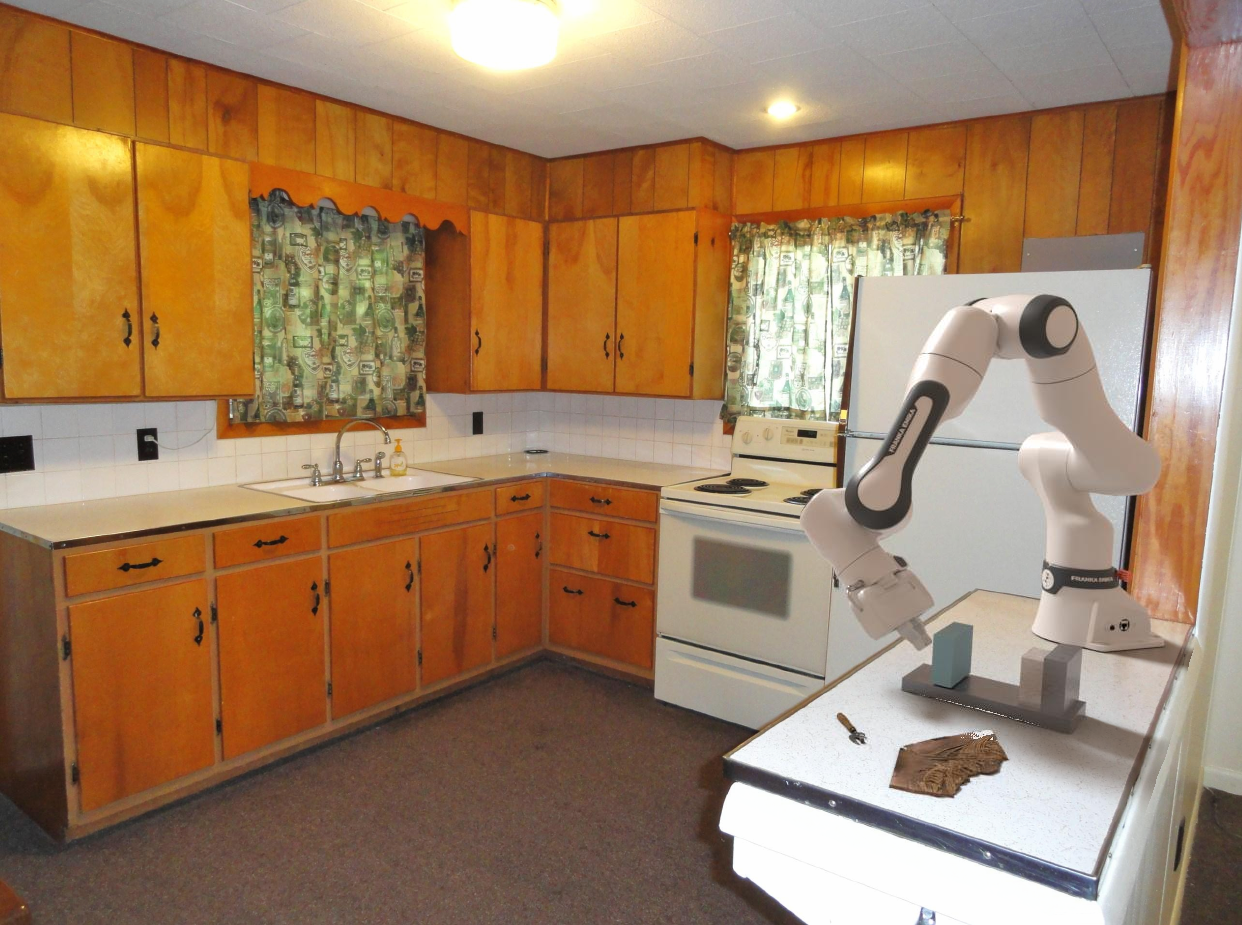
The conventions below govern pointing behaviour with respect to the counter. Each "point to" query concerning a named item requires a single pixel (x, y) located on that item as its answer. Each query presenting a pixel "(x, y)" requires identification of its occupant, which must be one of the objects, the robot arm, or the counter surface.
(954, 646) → the slide jaw
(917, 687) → the vise bed
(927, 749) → the wooden fragment
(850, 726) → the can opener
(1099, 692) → the counter surface
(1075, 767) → the counter surface
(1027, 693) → the steel block
